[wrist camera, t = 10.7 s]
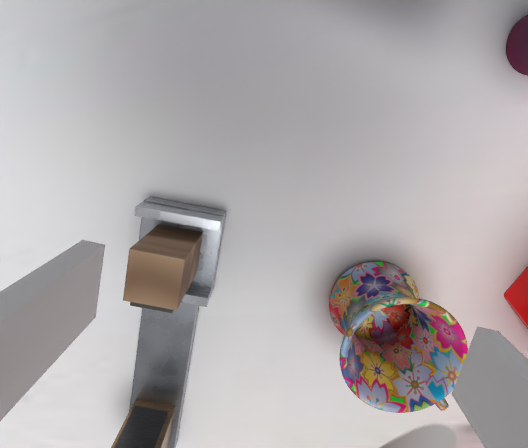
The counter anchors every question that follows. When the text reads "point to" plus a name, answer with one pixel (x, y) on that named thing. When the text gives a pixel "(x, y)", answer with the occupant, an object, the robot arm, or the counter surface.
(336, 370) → the counter surface
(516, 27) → the cup
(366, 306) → the mug
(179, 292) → the block
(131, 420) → the rail
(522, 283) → the vase
